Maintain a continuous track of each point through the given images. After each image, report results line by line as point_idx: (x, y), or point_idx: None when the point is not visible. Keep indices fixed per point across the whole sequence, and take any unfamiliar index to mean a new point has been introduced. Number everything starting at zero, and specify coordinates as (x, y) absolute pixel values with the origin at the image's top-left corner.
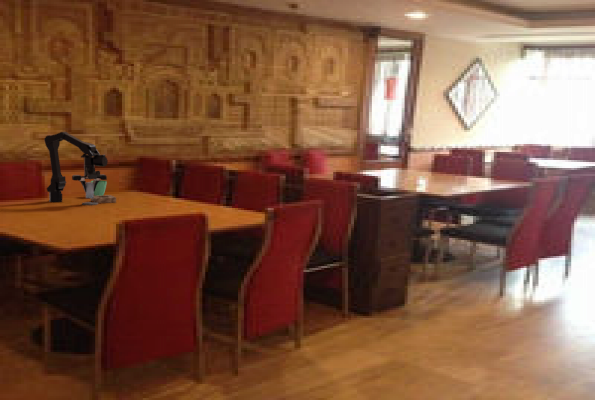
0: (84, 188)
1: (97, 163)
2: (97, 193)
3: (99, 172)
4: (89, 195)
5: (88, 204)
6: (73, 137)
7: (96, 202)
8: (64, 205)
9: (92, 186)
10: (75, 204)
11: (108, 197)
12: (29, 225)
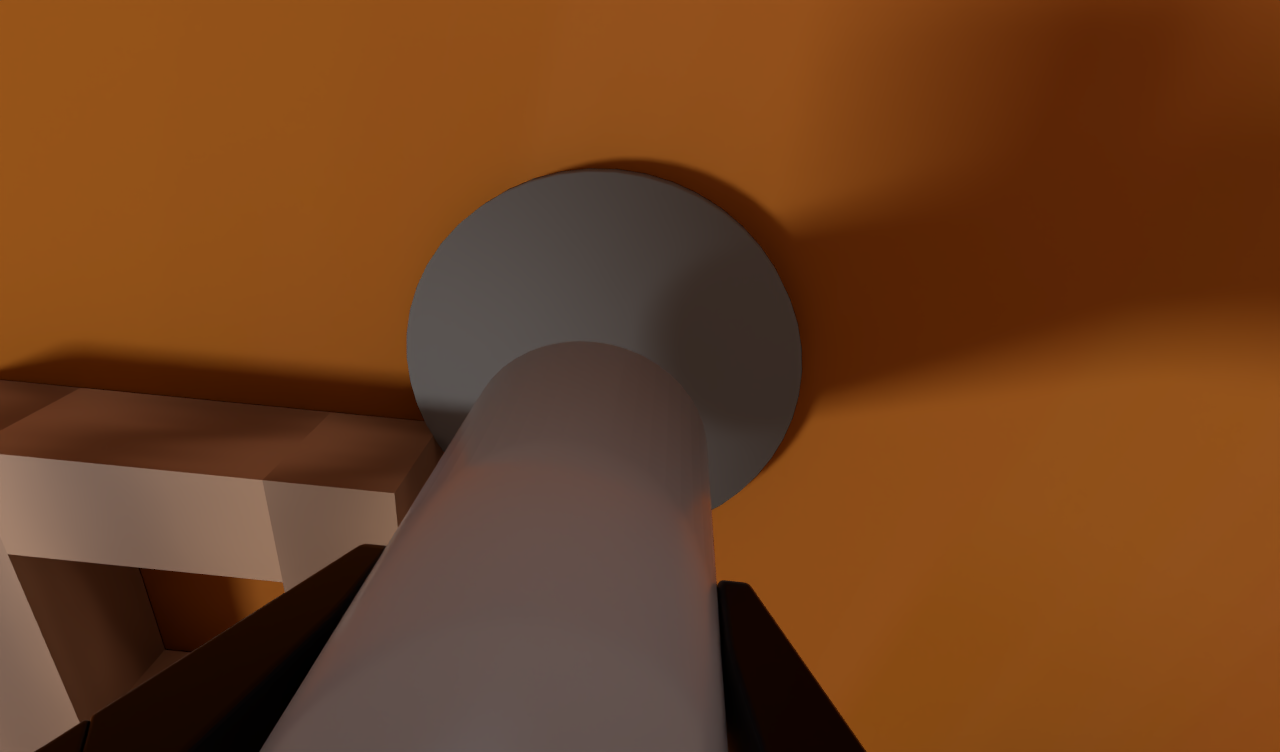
0: (837, 715)
1: None
2: None
3: None
4: (623, 397)
5: (705, 199)
6: None
7: (424, 420)
8: (1224, 414)
9: (334, 702)
10: (917, 458)
11: (48, 524)
12: None
